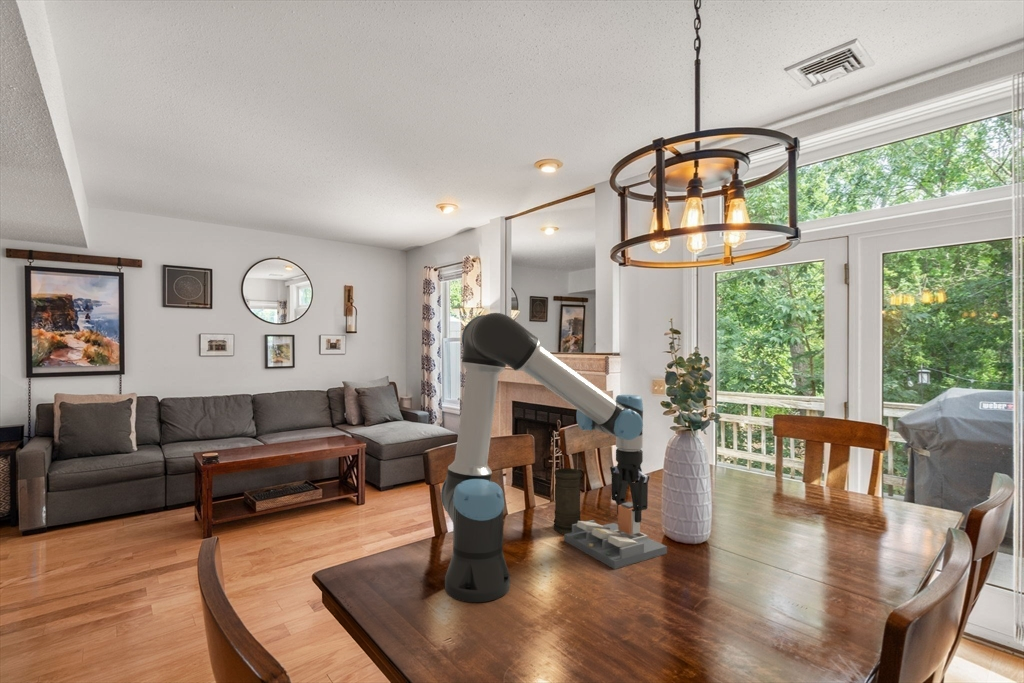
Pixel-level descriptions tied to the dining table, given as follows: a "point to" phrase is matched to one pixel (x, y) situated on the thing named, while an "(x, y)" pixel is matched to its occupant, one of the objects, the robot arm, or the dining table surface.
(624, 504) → the orange block
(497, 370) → the robot arm
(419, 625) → the dining table surface
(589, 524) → the rocker far
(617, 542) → the rocker near
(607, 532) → the plate
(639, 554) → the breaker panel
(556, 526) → the container
